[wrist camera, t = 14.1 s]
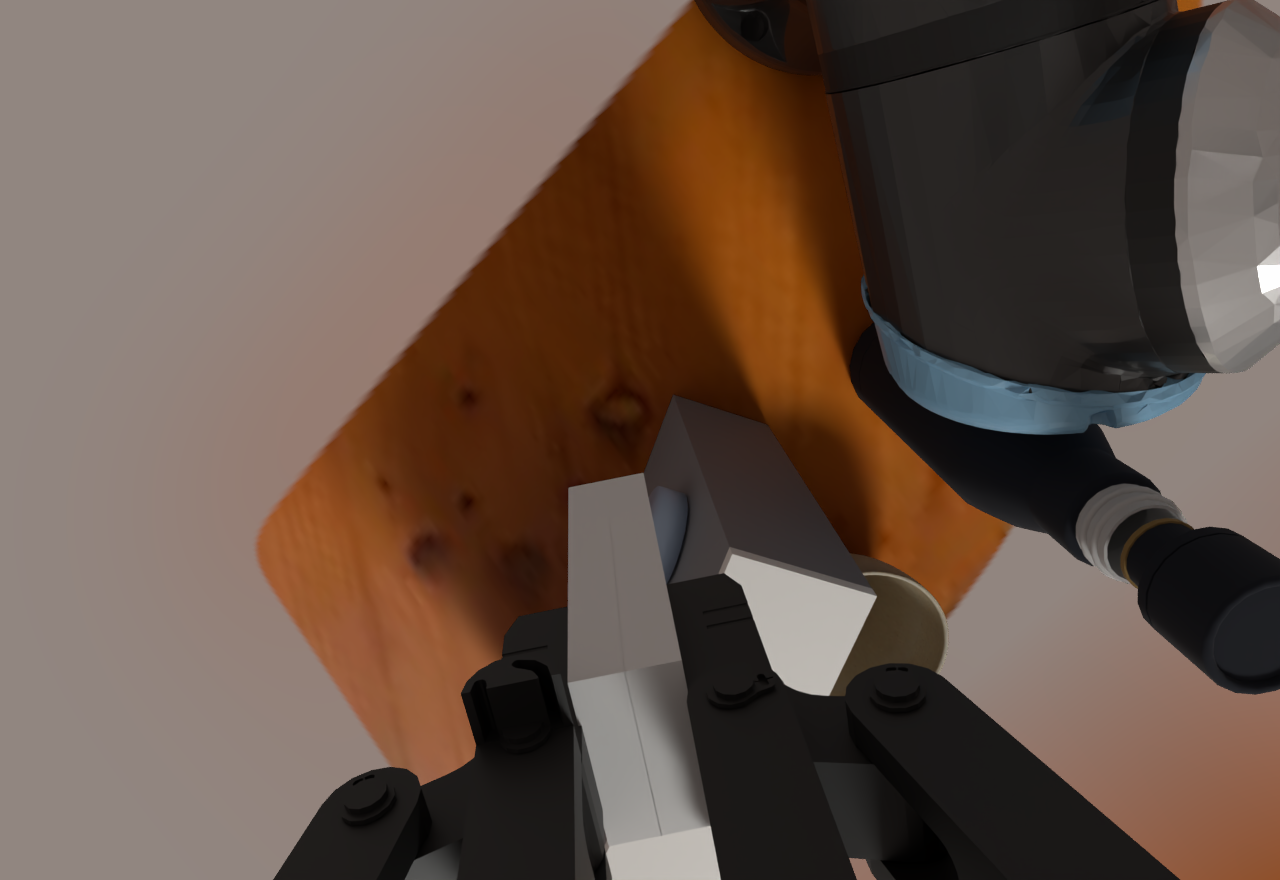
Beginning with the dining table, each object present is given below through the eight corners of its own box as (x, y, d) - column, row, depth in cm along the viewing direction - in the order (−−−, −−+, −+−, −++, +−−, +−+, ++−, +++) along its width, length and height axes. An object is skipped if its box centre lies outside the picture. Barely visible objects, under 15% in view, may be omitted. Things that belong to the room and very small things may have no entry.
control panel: (548, 726, 60) (538, 1015, 41) (673, 394, 53) (732, 554, 34) (634, 747, 61) (663, 1038, 42) (767, 425, 54) (877, 596, 35)
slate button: (624, 558, 46) (630, 608, 41) (657, 470, 45) (667, 512, 40) (701, 580, 47) (716, 632, 42) (736, 494, 45) (756, 538, 41)
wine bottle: (837, 331, 53) (1144, 579, 25) (943, 293, 52) (1378, 501, 24) (863, 429, 55) (1174, 761, 27) (966, 394, 55) (1389, 692, 26)
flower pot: (810, 684, 61) (840, 755, 54) (720, 583, 58) (740, 644, 51) (935, 596, 59) (982, 658, 52) (849, 487, 56) (887, 538, 49)
